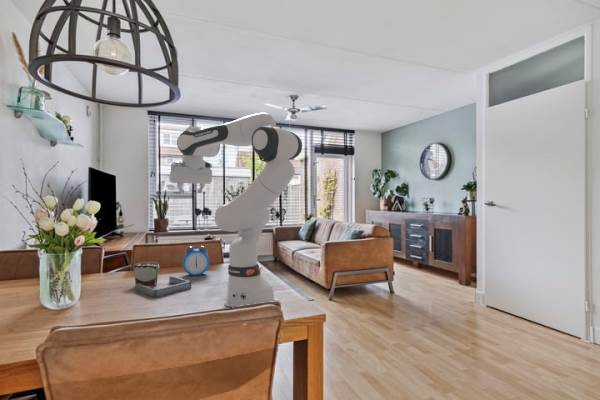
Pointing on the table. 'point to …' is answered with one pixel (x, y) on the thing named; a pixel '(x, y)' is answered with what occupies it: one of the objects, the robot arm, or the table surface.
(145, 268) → the food container
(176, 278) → the metal dock
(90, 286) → the table surface
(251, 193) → the robot arm
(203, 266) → the alarm clock
